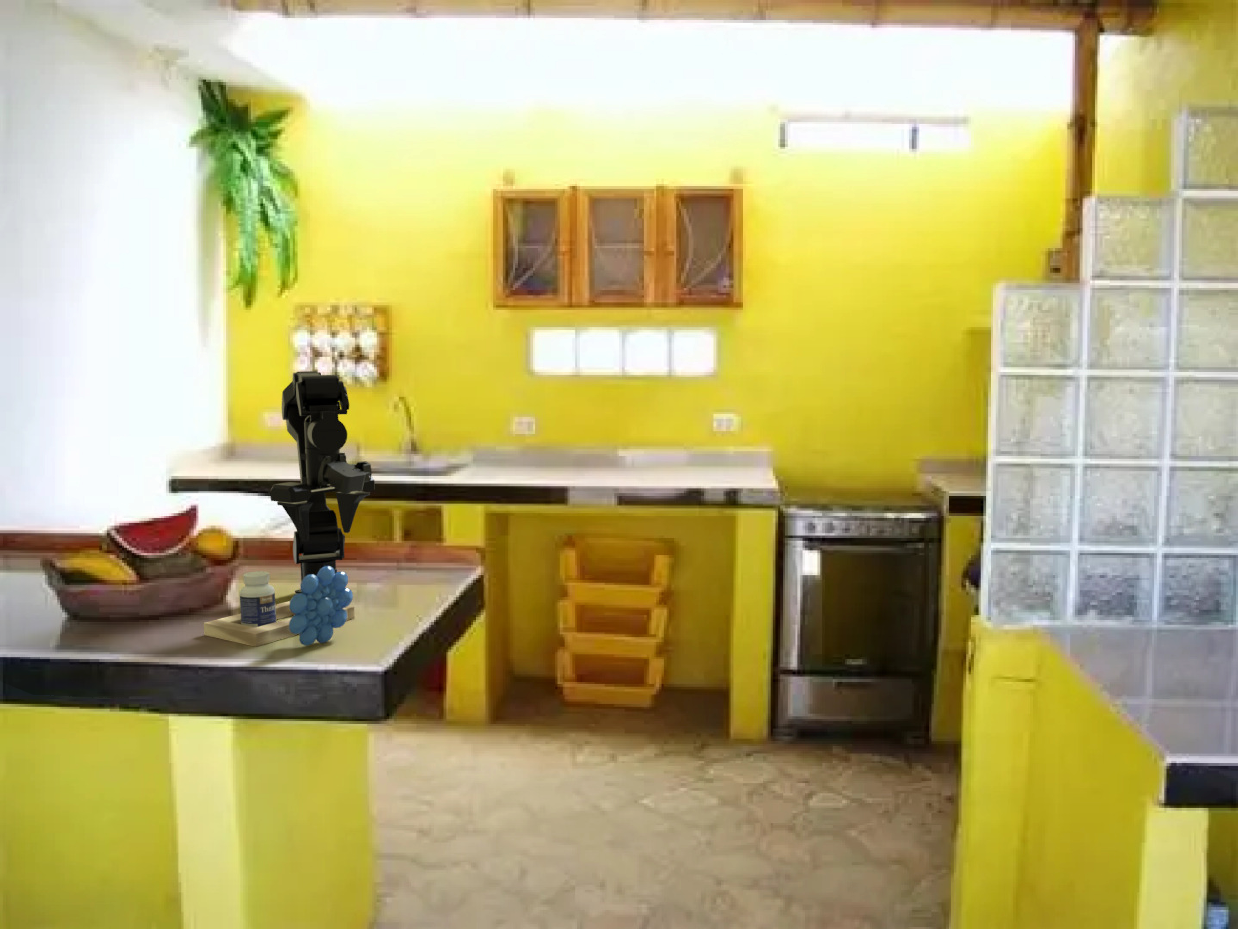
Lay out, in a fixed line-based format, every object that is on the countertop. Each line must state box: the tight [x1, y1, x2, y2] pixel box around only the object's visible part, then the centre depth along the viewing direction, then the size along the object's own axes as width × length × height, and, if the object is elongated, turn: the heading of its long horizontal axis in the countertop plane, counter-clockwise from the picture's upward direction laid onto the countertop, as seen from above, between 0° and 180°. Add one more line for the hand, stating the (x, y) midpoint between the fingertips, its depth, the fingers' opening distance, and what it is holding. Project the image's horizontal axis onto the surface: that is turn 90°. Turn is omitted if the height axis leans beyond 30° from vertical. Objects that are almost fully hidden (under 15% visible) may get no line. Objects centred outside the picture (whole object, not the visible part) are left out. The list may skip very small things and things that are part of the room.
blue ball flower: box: [289, 566, 354, 647], centre depth 165 cm, size 12×7×12 cm, turn 142°
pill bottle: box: [239, 570, 277, 628], centre depth 172 cm, size 5×5×10 cm
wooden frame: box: [203, 600, 356, 647], centre depth 176 cm, size 20×13×2 cm, turn 146°
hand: (326, 536), depth 185 cm, fingers open, 9 cm apart
